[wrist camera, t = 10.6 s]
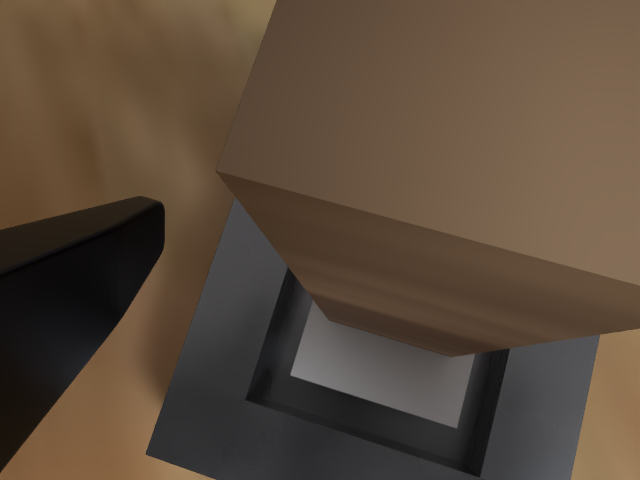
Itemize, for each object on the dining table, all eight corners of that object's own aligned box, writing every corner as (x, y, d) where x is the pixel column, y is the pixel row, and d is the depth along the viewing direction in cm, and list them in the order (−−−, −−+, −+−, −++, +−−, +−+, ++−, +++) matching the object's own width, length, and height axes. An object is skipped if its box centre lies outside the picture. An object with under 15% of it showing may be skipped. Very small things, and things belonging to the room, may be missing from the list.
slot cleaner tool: (439, 417, 16) (806, 653, 3) (303, 374, 16) (46, 390, 3) (490, 217, 17) (918, -311, 4) (361, 183, 17) (345, -379, 4)
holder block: (512, 554, 16) (546, 596, 13) (183, 440, 17) (145, 454, 14) (598, 161, 18) (643, 122, 15) (301, 89, 19) (289, 40, 17)
